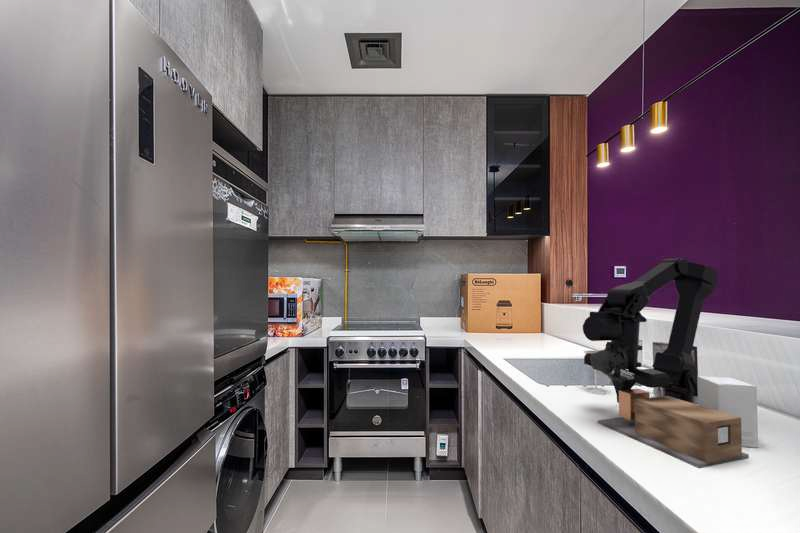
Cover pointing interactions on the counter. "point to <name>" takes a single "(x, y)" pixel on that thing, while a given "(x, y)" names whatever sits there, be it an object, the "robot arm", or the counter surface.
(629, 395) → the shaft
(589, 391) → the wineglass
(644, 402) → the housing
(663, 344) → the coffee box
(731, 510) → the counter surface
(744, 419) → the supplement box
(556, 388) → the counter surface
